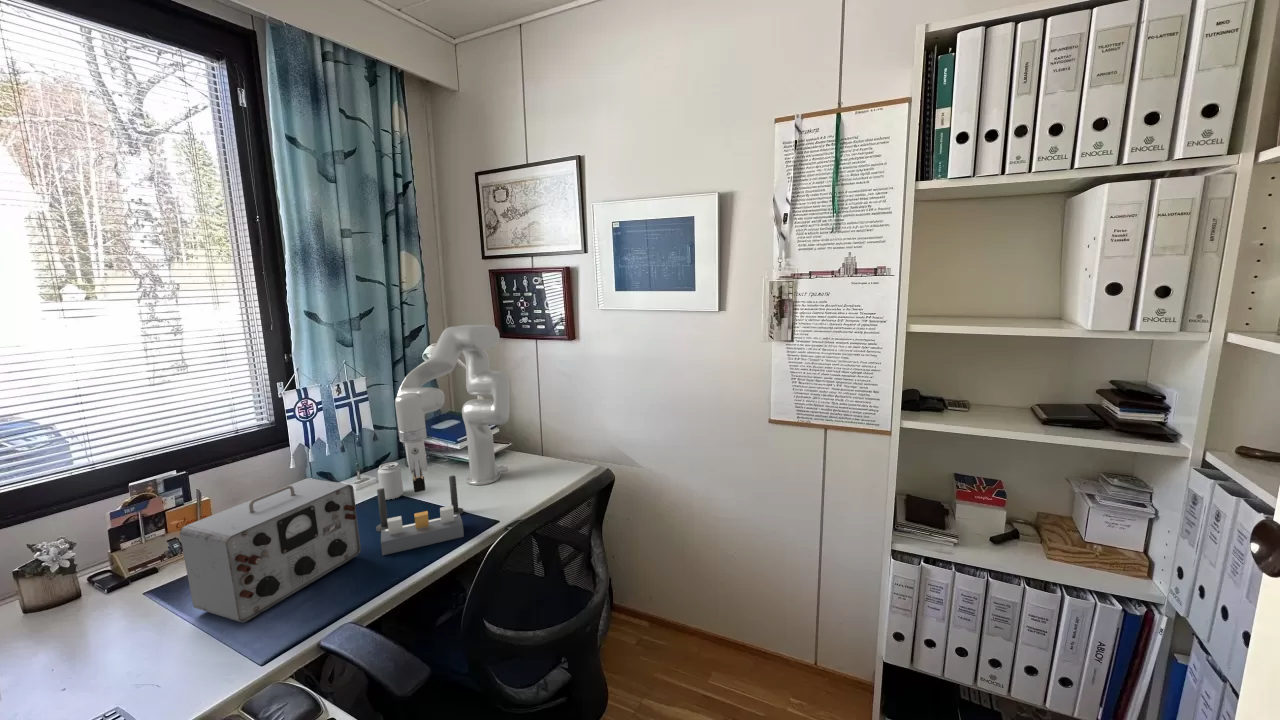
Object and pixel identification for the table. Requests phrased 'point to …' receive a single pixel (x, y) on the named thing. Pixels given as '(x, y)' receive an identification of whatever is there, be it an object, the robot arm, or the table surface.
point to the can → (390, 480)
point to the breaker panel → (421, 535)
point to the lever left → (395, 525)
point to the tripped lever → (421, 519)
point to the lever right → (447, 514)
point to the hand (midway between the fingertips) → (419, 490)
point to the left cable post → (382, 510)
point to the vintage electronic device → (269, 547)
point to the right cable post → (454, 495)
